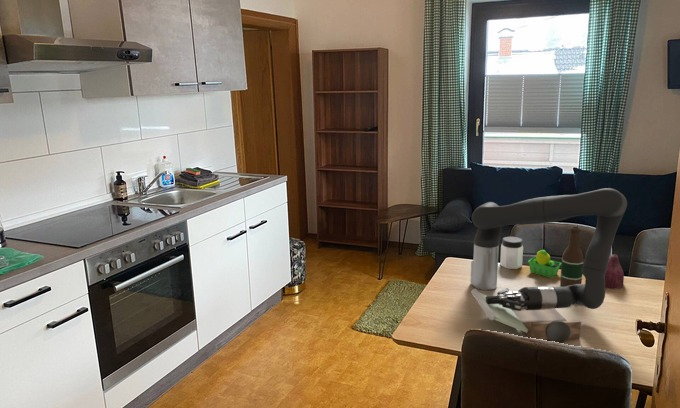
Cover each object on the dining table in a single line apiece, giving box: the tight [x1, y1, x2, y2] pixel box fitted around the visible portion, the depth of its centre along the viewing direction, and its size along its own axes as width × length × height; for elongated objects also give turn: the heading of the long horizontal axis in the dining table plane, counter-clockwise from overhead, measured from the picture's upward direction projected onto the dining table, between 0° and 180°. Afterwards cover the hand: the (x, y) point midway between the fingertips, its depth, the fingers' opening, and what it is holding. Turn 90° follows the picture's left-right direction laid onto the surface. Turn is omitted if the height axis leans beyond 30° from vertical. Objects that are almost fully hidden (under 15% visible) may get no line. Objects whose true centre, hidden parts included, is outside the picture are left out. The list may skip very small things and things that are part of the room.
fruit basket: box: [527, 249, 562, 279], centre depth 207 cm, size 11×9×11 cm
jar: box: [499, 236, 524, 270], centre depth 217 cm, size 9×8×12 cm
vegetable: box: [605, 253, 625, 290], centre depth 195 cm, size 10×10×15 cm
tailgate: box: [471, 288, 528, 334], centre depth 166 cm, size 2×19×14 cm
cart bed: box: [511, 287, 582, 344], centre depth 167 cm, size 15×27×7 cm, turn 2°
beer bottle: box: [559, 226, 585, 287], centre depth 193 cm, size 8×8×24 cm
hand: (486, 300), depth 165 cm, fingers closed
